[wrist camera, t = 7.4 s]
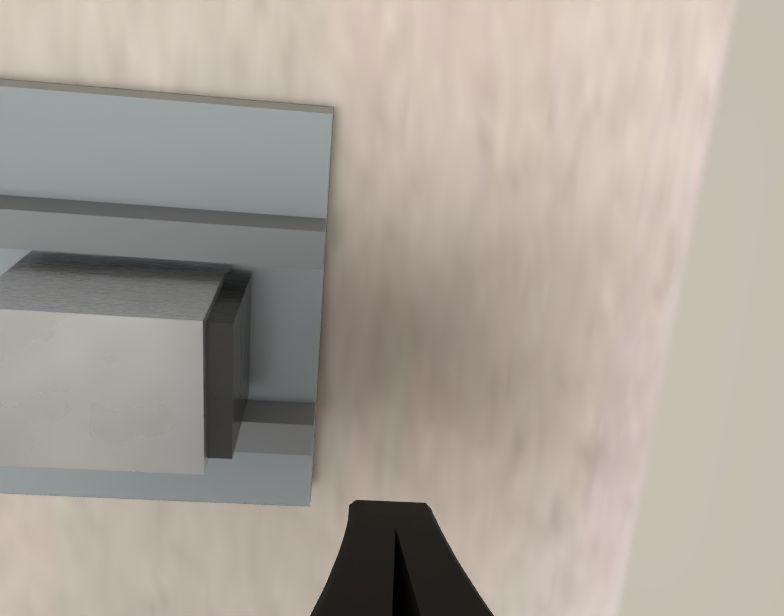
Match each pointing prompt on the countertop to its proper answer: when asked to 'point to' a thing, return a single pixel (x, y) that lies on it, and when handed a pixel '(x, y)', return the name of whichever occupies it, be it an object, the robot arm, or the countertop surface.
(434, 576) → the robot arm
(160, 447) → the grey rail carriage
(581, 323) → the countertop surface
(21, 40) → the countertop surface
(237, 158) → the gauge board
